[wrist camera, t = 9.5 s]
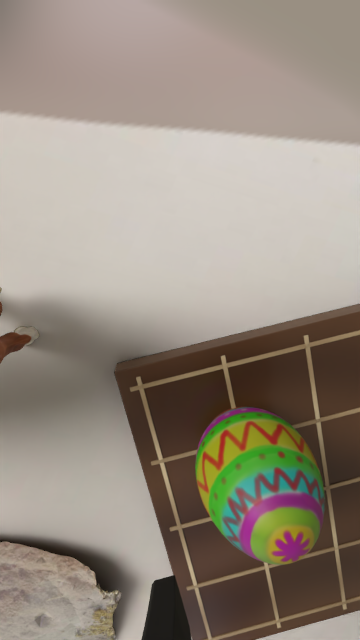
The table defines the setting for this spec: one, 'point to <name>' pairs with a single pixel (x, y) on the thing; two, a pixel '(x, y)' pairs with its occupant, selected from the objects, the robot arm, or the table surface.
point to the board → (304, 416)
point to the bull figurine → (16, 338)
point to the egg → (260, 485)
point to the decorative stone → (51, 597)
